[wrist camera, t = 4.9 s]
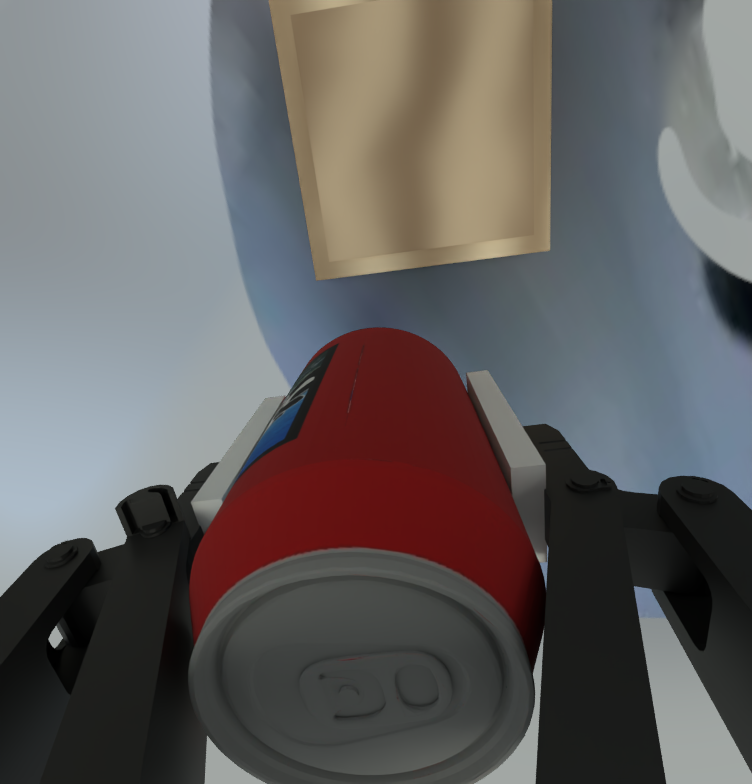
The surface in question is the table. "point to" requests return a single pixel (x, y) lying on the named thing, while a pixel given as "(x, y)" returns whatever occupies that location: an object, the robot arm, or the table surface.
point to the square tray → (418, 128)
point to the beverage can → (368, 583)
